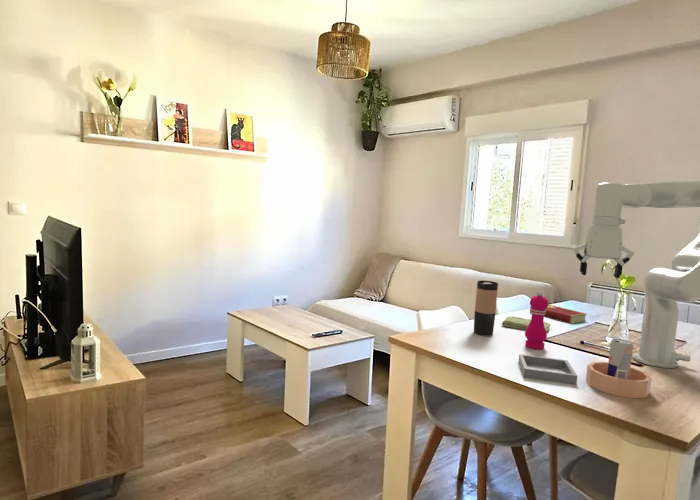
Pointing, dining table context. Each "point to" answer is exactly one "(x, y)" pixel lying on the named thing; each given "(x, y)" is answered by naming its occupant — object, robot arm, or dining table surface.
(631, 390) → the bowl
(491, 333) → the travel mug
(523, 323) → the washcloth
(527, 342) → the pepper mill
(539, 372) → the parts tray
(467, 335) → the dining table surface
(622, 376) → the energy drink
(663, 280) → the robot arm
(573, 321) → the hardcover book
